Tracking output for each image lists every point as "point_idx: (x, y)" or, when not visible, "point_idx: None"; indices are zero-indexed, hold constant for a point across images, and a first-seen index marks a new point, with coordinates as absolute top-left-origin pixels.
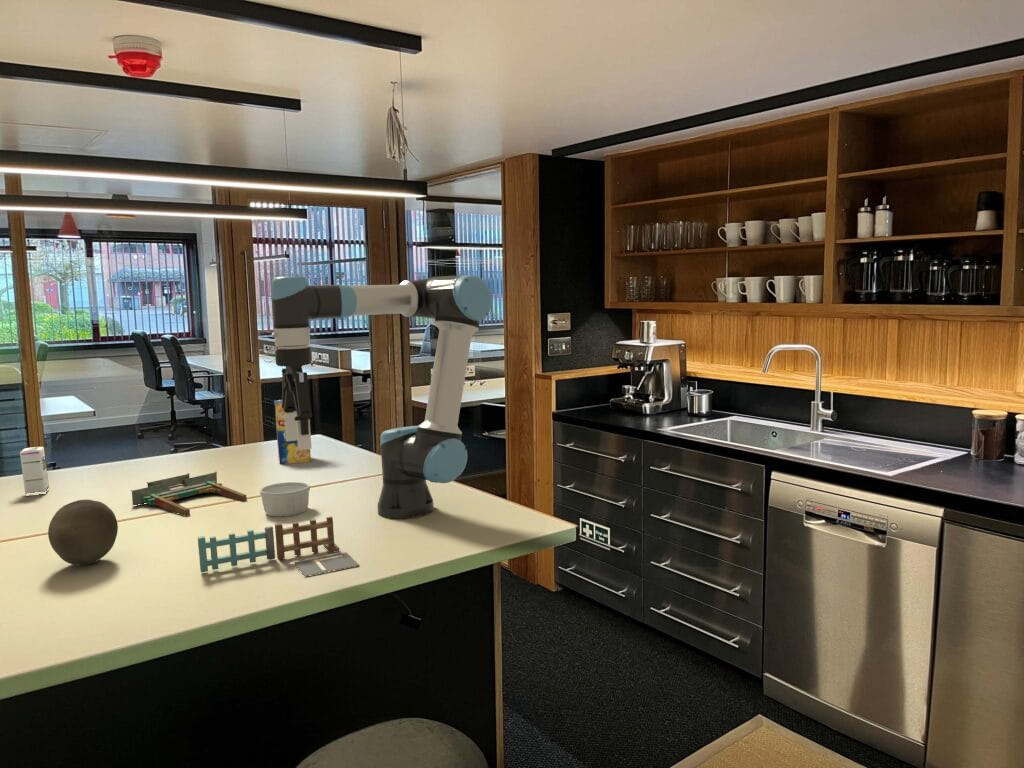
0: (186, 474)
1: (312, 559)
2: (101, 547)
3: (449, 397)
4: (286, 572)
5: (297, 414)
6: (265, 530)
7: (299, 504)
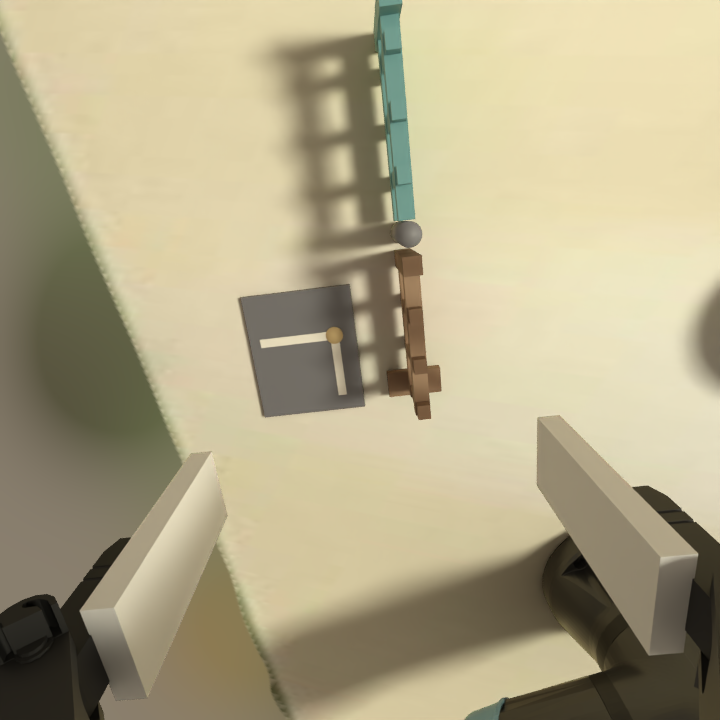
0: None
1: (349, 328)
2: None
3: None
4: (294, 260)
5: (41, 675)
6: (402, 223)
7: None
